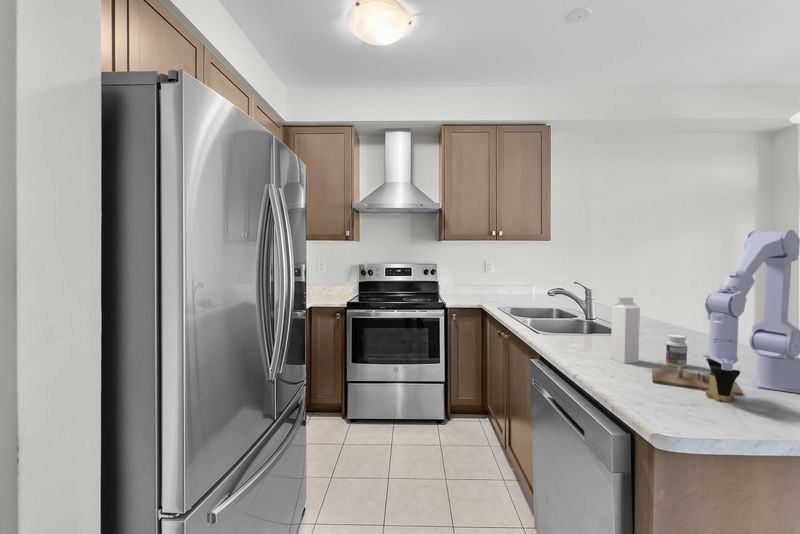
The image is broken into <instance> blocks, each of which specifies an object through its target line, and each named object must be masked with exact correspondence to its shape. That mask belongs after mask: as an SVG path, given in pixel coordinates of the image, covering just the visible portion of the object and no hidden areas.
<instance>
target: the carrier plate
mask: <svg viewBox="0 0 800 534" xmlns="http://www.w3.org/2000/svg"><path fill="white" fill-rule="evenodd" d="M709 373H710V372H709V371H708V372H707V371H705V372H703V371H698V372H697V373H694V372H687V371H684V367H677V370H671V369H665V368H664V369H663V368H656V367H651V376H652V379H651V380H652V384H660V385H665V386H672V387H679V386H680V387H681V388H685V387H687V389H692V388H693V389H694V390H699V389H701V391H706V390H709ZM680 387H679V388H680ZM734 394H735V395H736V396H739V395H740V396H741V397H742V395H743V392H742V390H741V389H740V387H739V386H738V385H737V383H736V382H735V391H734Z"/></svg>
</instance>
